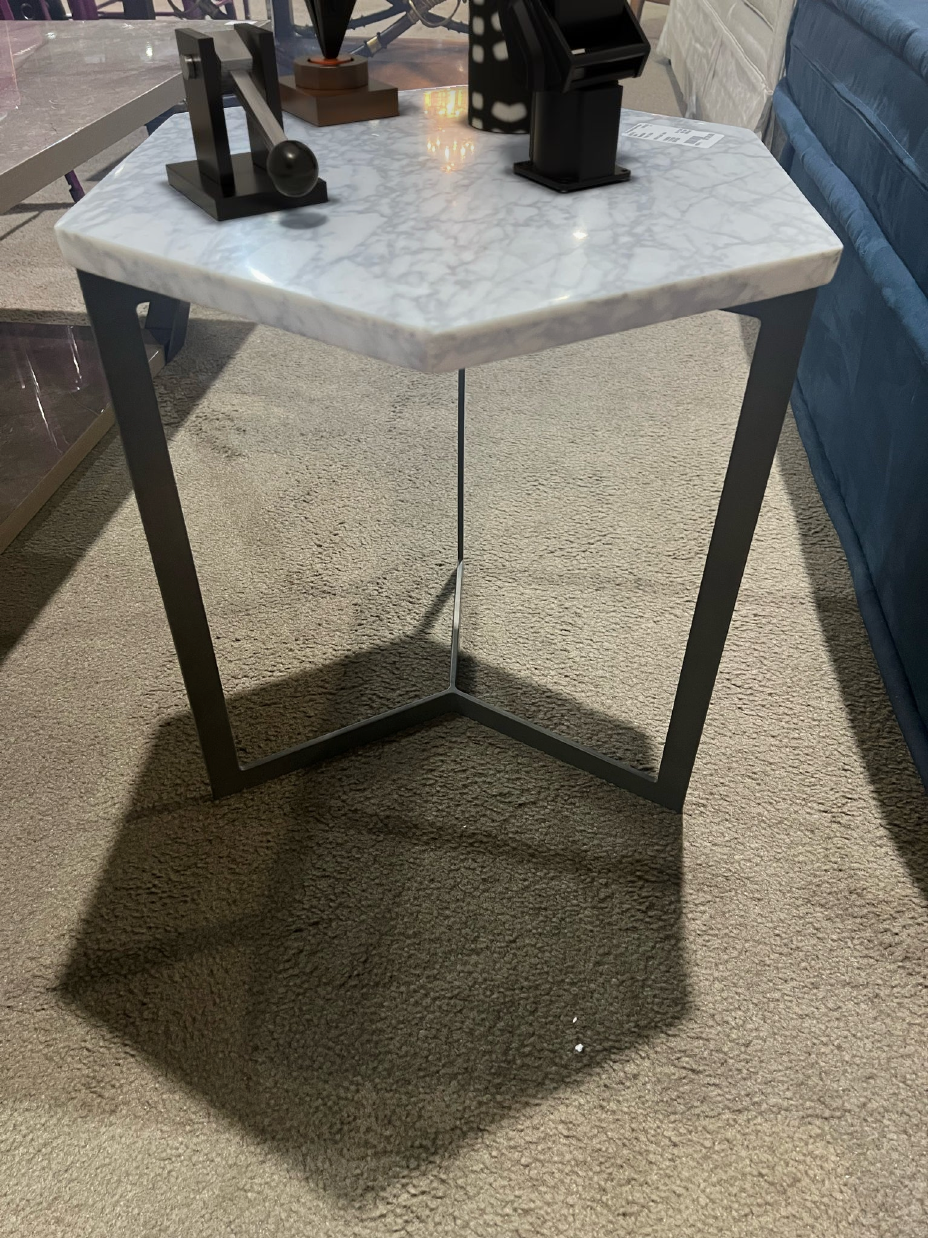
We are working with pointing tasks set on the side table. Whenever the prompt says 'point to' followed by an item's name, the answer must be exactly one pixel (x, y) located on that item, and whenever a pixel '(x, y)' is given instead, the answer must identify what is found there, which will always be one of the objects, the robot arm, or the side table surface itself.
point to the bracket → (217, 173)
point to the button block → (336, 92)
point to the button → (322, 60)
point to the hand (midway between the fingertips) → (330, 57)
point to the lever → (263, 118)
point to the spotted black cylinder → (493, 76)
